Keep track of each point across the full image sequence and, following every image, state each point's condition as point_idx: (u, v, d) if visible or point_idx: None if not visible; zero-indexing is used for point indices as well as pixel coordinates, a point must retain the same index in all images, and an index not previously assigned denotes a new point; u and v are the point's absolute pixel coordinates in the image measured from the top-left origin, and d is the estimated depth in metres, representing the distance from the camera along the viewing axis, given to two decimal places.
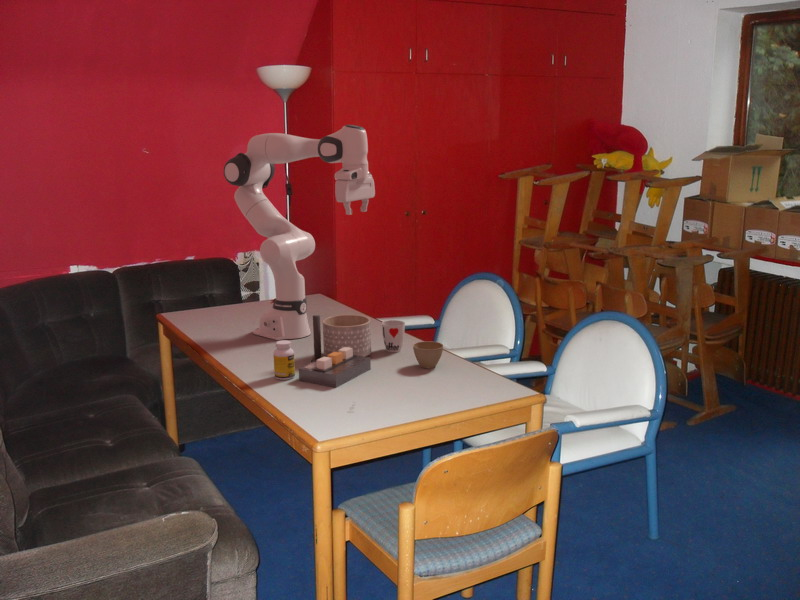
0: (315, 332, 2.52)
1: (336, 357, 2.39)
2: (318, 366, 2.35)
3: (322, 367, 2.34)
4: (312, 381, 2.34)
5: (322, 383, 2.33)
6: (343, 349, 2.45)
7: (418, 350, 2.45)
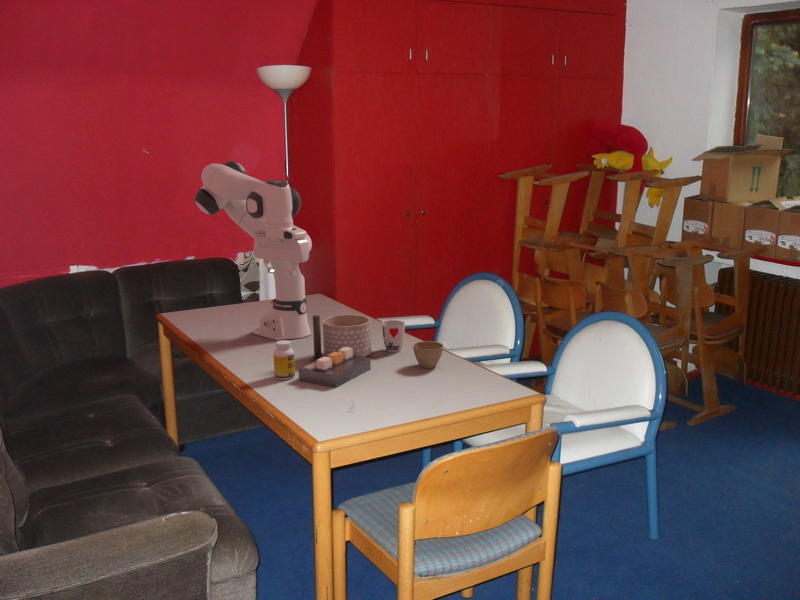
0: (315, 332, 2.52)
1: (336, 357, 2.39)
2: (318, 366, 2.35)
3: (322, 367, 2.34)
4: (312, 381, 2.34)
5: (322, 383, 2.33)
6: (343, 349, 2.45)
7: (418, 350, 2.45)
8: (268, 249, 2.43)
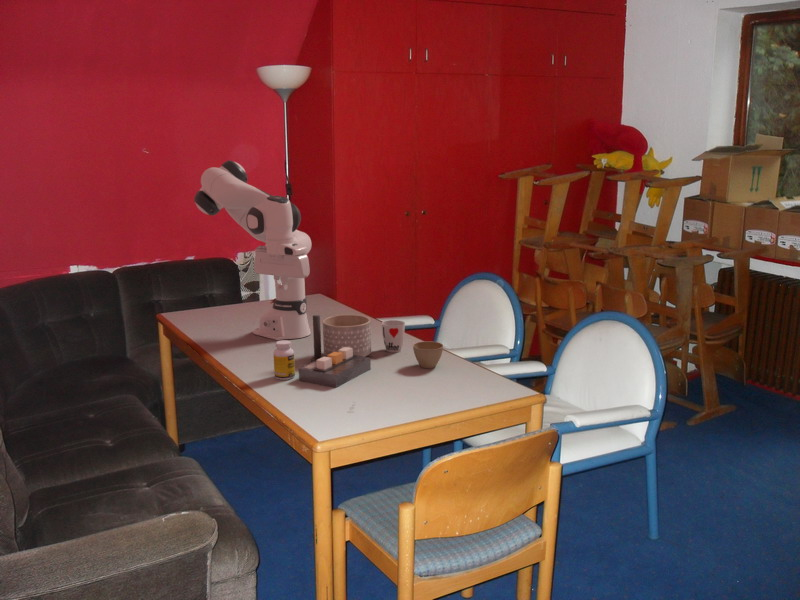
0: (315, 332, 2.52)
1: (336, 357, 2.39)
2: (318, 366, 2.35)
3: (322, 367, 2.34)
4: (312, 381, 2.34)
5: (322, 383, 2.33)
6: (343, 349, 2.45)
7: (418, 350, 2.45)
8: (269, 265, 2.44)
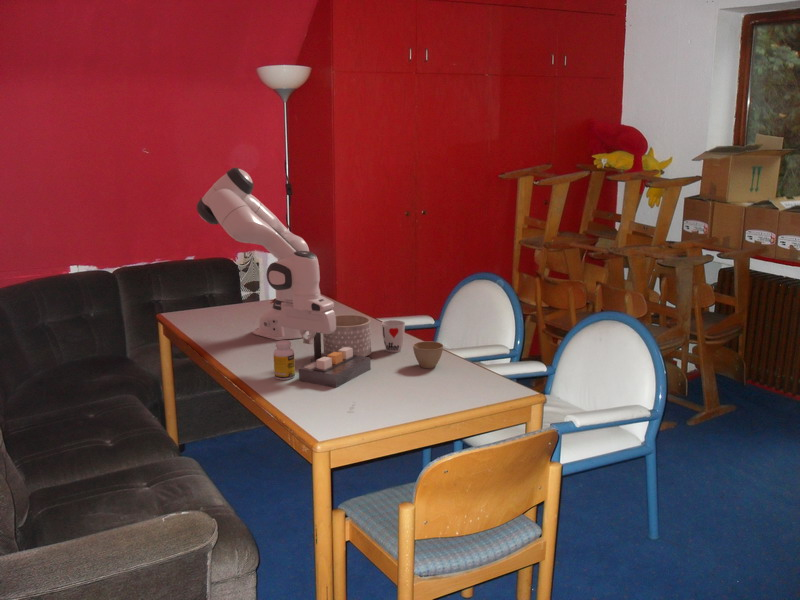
0: None
1: (336, 357, 2.39)
2: (318, 366, 2.35)
3: (322, 367, 2.34)
4: (312, 381, 2.34)
5: (322, 383, 2.33)
6: (343, 349, 2.45)
7: (418, 350, 2.45)
8: (295, 319, 2.43)
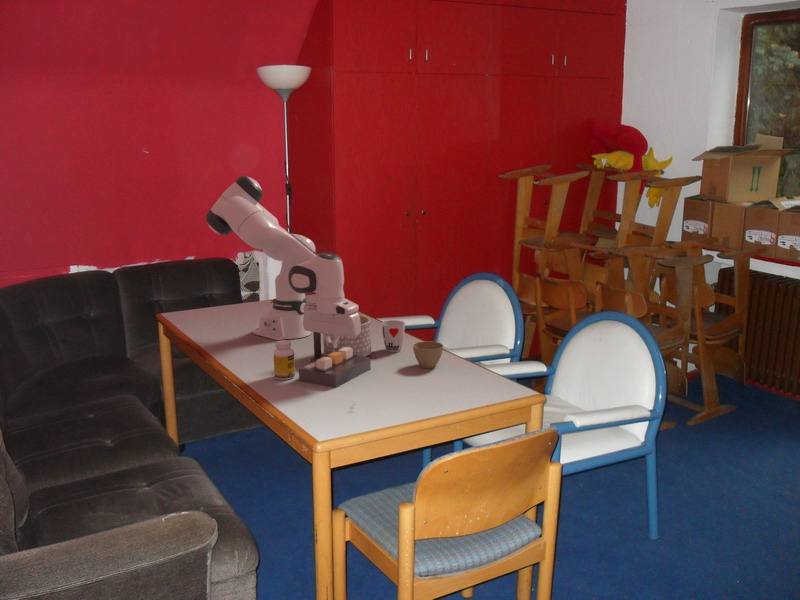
0: (315, 332, 2.52)
1: (336, 357, 2.39)
2: (318, 366, 2.35)
3: (322, 367, 2.34)
4: (312, 381, 2.34)
5: (322, 383, 2.33)
6: (343, 349, 2.45)
7: (418, 350, 2.45)
8: (319, 322, 2.39)
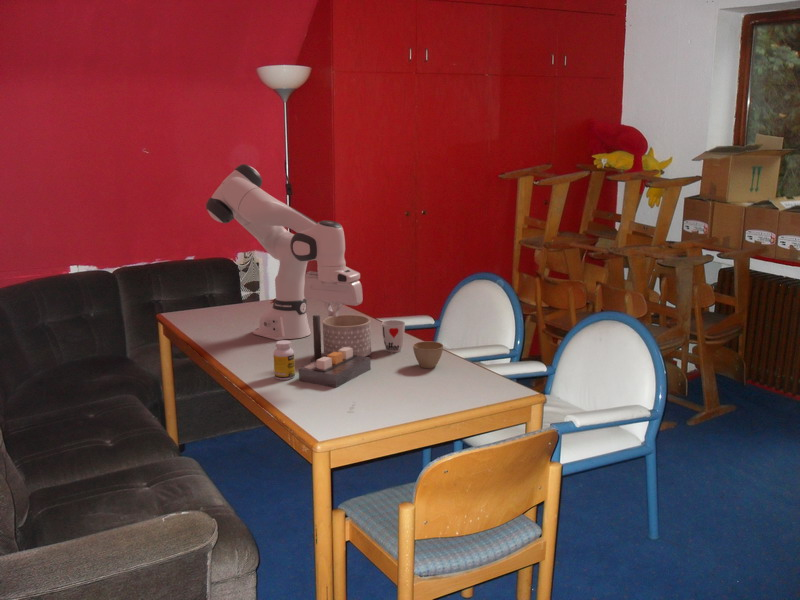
0: (315, 332, 2.52)
1: (336, 357, 2.39)
2: (318, 366, 2.35)
3: (322, 367, 2.34)
4: (312, 381, 2.34)
5: (322, 383, 2.33)
6: (343, 349, 2.45)
7: (418, 350, 2.45)
8: (320, 291, 2.37)
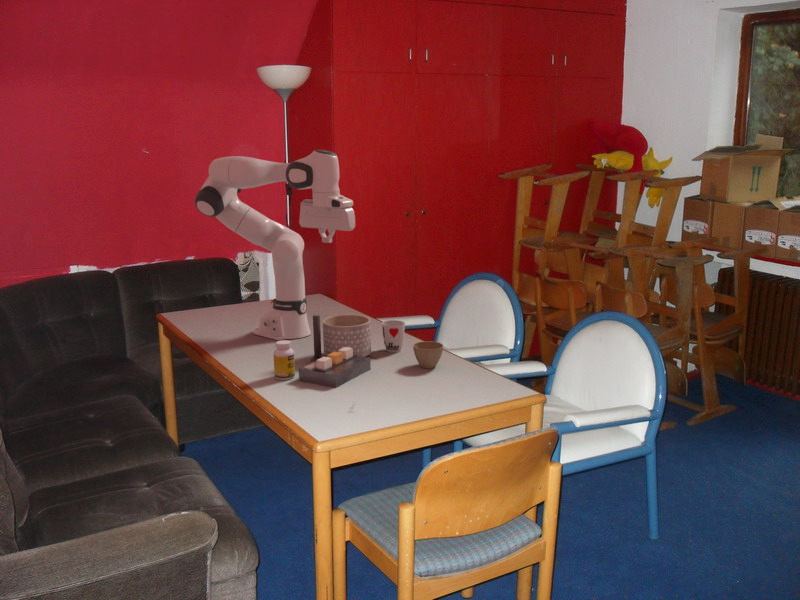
0: (315, 332, 2.52)
1: (336, 357, 2.39)
2: (318, 366, 2.35)
3: (322, 367, 2.34)
4: (312, 381, 2.34)
5: (322, 383, 2.33)
6: (343, 349, 2.45)
7: (418, 350, 2.45)
8: (314, 218, 2.48)
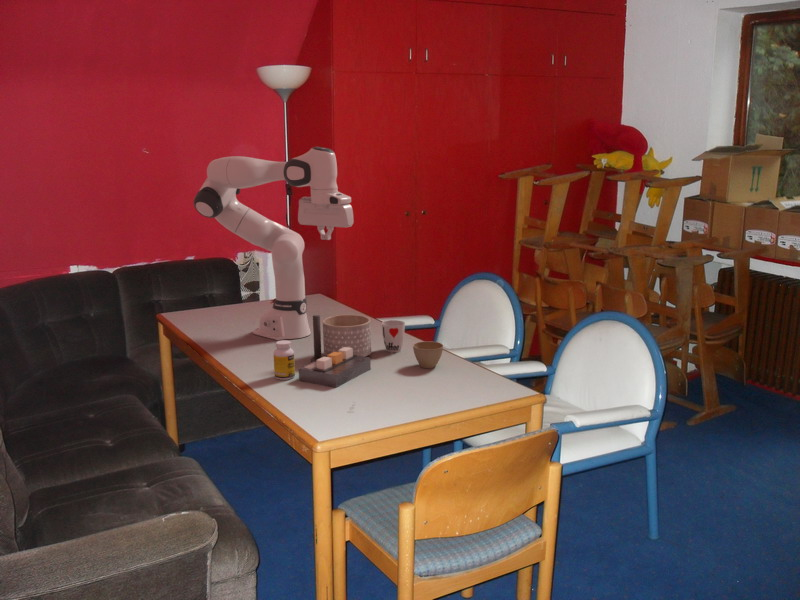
0: (315, 332, 2.52)
1: (336, 357, 2.39)
2: (318, 366, 2.35)
3: (322, 367, 2.34)
4: (312, 381, 2.34)
5: (322, 383, 2.33)
6: (343, 349, 2.45)
7: (418, 350, 2.45)
8: (313, 215, 2.49)
